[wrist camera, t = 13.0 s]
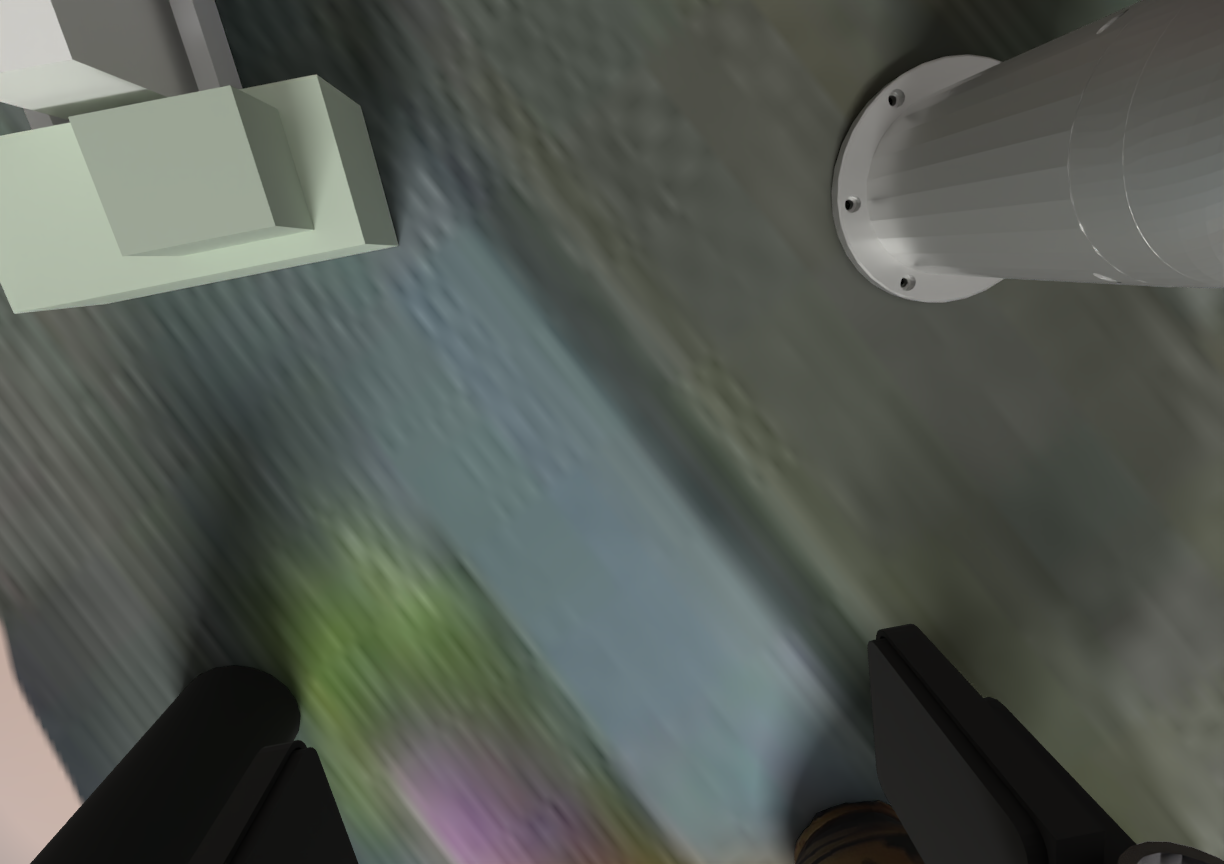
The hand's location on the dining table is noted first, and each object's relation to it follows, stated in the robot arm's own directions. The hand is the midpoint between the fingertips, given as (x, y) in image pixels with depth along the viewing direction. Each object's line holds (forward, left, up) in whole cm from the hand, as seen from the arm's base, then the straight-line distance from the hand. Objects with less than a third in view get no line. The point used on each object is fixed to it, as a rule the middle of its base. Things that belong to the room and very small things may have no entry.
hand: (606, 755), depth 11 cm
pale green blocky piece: (+16, -18, -28) cm, 37 cm away
